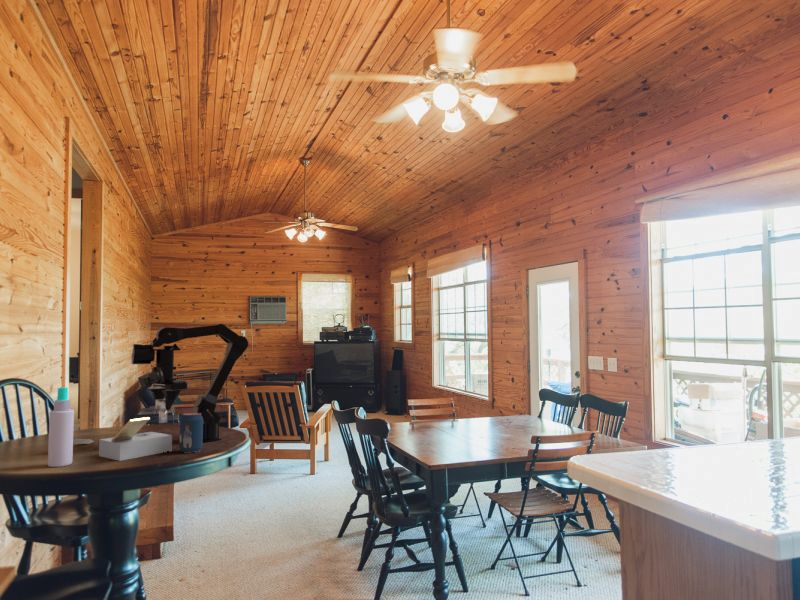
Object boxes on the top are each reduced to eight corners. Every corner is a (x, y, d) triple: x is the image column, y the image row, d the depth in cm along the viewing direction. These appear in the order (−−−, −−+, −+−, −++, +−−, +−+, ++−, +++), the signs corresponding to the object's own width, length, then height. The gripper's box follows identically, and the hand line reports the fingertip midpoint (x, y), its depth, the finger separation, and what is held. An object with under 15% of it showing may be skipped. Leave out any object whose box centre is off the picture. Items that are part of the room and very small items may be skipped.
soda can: (199, 448, 182) (200, 411, 182) (204, 451, 176) (205, 413, 177) (177, 450, 178) (178, 413, 179) (181, 454, 172) (182, 415, 173)
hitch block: (150, 446, 184) (150, 428, 185) (171, 450, 177) (172, 432, 178) (98, 455, 170) (99, 436, 171) (119, 460, 163) (120, 440, 164)
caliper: (51, 455, 173) (51, 435, 173) (48, 455, 173) (48, 435, 173) (94, 442, 193) (94, 424, 193) (91, 442, 193) (92, 424, 193)
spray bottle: (76, 462, 161) (79, 386, 163) (63, 467, 155) (66, 388, 157) (56, 462, 161) (59, 386, 163) (42, 467, 155) (45, 388, 157)
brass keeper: (132, 437, 171) (132, 435, 171) (150, 418, 166) (149, 417, 166) (113, 440, 166) (113, 438, 166) (130, 421, 161) (130, 419, 161)
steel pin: (165, 420, 192) (166, 398, 192) (173, 422, 189) (174, 399, 189) (151, 422, 188) (152, 399, 188) (160, 424, 185) (161, 400, 185)
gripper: (127, 363, 188) (125, 410, 187) (158, 365, 178) (157, 414, 177) (157, 362, 198) (156, 406, 196) (189, 364, 187) (187, 410, 186)
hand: (163, 409), depth 189 cm, fingers closed on steel pin, 5 cm apart
